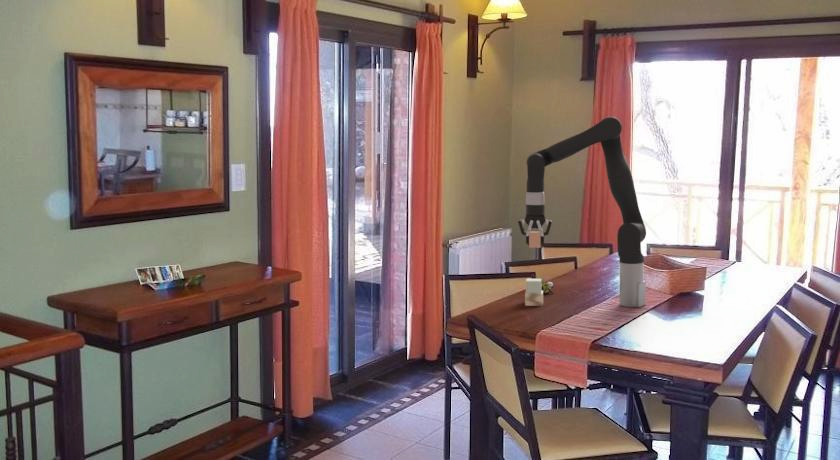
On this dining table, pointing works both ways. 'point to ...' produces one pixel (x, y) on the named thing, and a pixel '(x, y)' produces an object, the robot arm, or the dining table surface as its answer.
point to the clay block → (534, 239)
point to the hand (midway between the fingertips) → (535, 245)
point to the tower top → (533, 286)
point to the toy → (546, 286)
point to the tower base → (533, 299)
